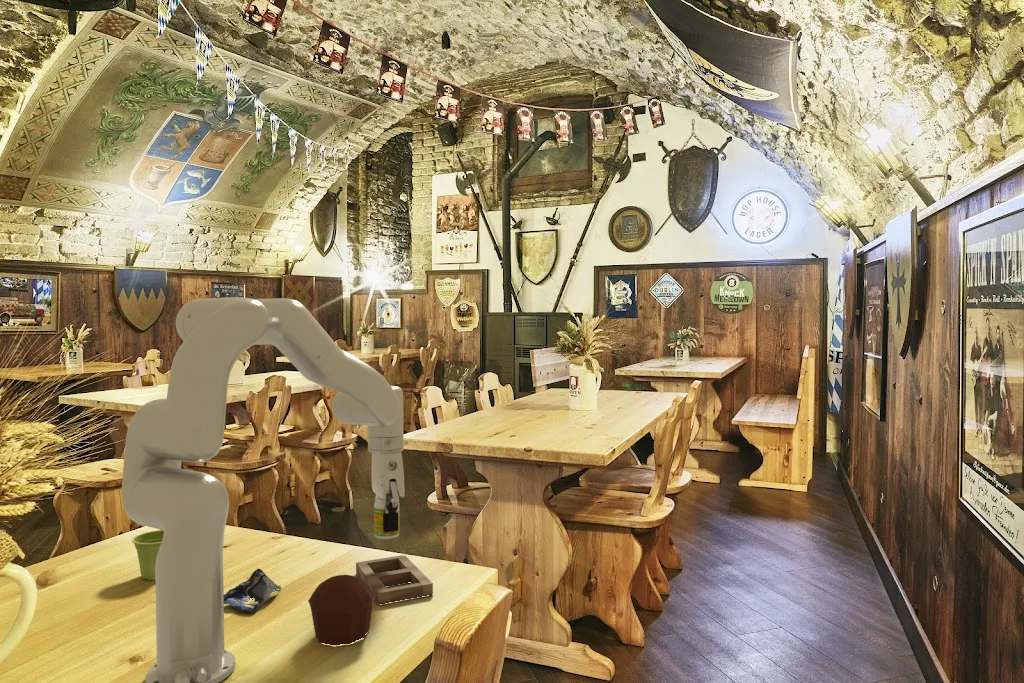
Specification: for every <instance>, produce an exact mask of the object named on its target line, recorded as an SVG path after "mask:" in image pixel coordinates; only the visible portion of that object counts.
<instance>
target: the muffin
mask: <svg viewBox="0 0 1024 683" xmlns="http://www.w3.org/2000/svg"><path fill="white" fill-rule="evenodd" d="M375 597H376V595H375V594H374V592H373V591H372V590H371V588H370V587H369V586H368V585H367V583H366V582H365V581H363V580H361V579H359V577H358V576H355V575H350V574H340V575H339V574H338V575H334V576H331V577H329V578H327V579H325V580H324V581H322V582H320V583H319V585H318V586H317V587H316V588H315V590H314V591H313V592H312V593H311V596H310V597H309V599H308V600H307V601H308V604H309V607H310V612H311V617H312V623H313V630H314V634H315V639H316V638H317V639H318V640H319V641H318V640H317V639H316V640H317V641H318V642H319V644H320V643H325V644H330V645H340V644H350V643H352V642H355V641H356V640H359V639H361V638H364V637H366V636H365V634H366V633H367V632H368V631H369V632H370V624H371V618H372V617H371V616H372V612H373V604H374V601H375V600H374V599H375ZM369 632H368V633H369ZM364 639H365V638H364Z"/></svg>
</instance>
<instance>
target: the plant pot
mask: <svg viewBox="0 0 1024 683" xmlns="http://www.w3.org/2000/svg"><path fill="white" fill-rule="evenodd" d="M163 537H164V531H163V530H160V529H158V530H157V529H156V530H152V531H147V532H143V533H140V534H138V535H136V536H134V537H132V539H131V542H132V543H133V545H134V547H135V549H136V552H137V559H138V563H139V564H138V565H139V570H140V576H141V578H142V579H143V580H145V579H146V580H147V581H155V565H156V558H157V554H158V551H159V548H160V546H161V543H162V540H163Z"/></svg>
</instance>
